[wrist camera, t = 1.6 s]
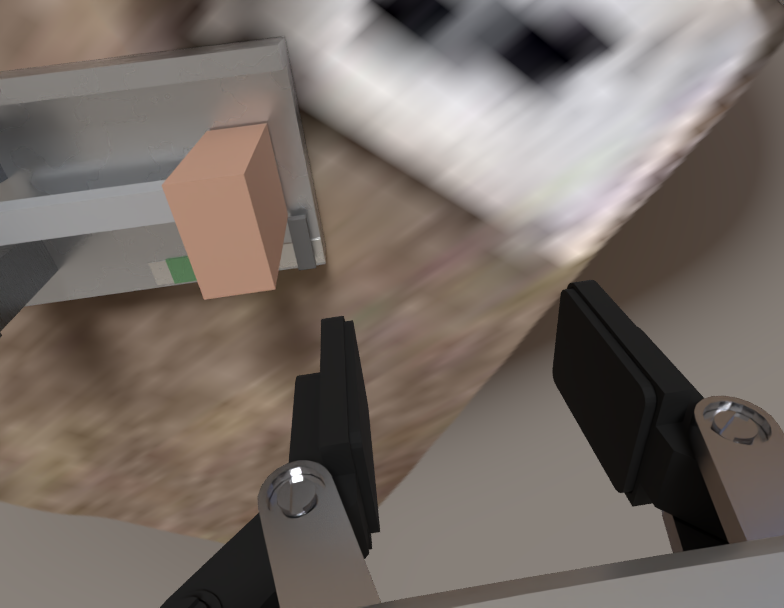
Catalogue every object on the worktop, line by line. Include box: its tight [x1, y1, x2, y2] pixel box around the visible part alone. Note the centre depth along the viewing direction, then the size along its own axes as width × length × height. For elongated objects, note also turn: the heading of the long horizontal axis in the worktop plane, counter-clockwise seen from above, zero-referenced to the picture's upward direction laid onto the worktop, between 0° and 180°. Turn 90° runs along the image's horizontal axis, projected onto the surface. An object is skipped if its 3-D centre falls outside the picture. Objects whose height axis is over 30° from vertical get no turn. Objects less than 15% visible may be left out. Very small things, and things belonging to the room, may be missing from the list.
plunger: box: [0, 123, 316, 300], centre depth 23 cm, size 15×8×8 cm, turn 96°
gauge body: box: [0, 36, 326, 337], centre depth 24 cm, size 18×12×10 cm, turn 96°
